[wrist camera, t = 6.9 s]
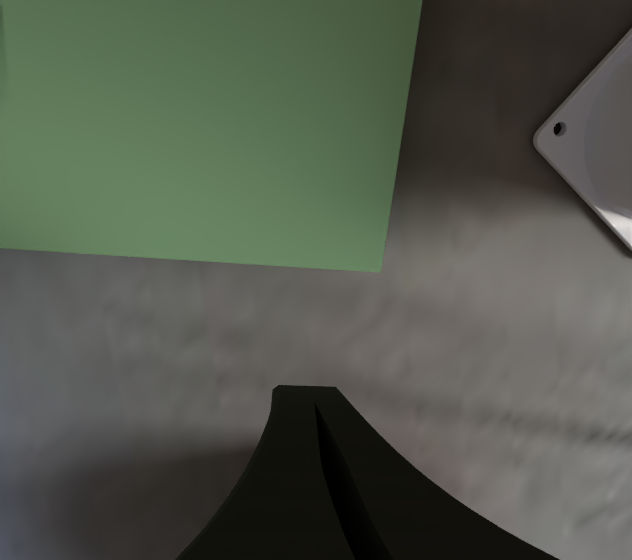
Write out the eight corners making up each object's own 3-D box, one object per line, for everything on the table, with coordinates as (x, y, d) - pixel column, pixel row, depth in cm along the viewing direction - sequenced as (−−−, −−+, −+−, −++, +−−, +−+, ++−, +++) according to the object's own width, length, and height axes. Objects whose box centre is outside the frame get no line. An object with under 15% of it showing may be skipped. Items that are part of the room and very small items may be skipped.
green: (419, -96, 17) (440, -117, 16) (369, 256, 21) (380, 272, 19) (-466, -246, 14) (-576, -298, 12) (-333, 208, 18) (-401, 222, 16)
